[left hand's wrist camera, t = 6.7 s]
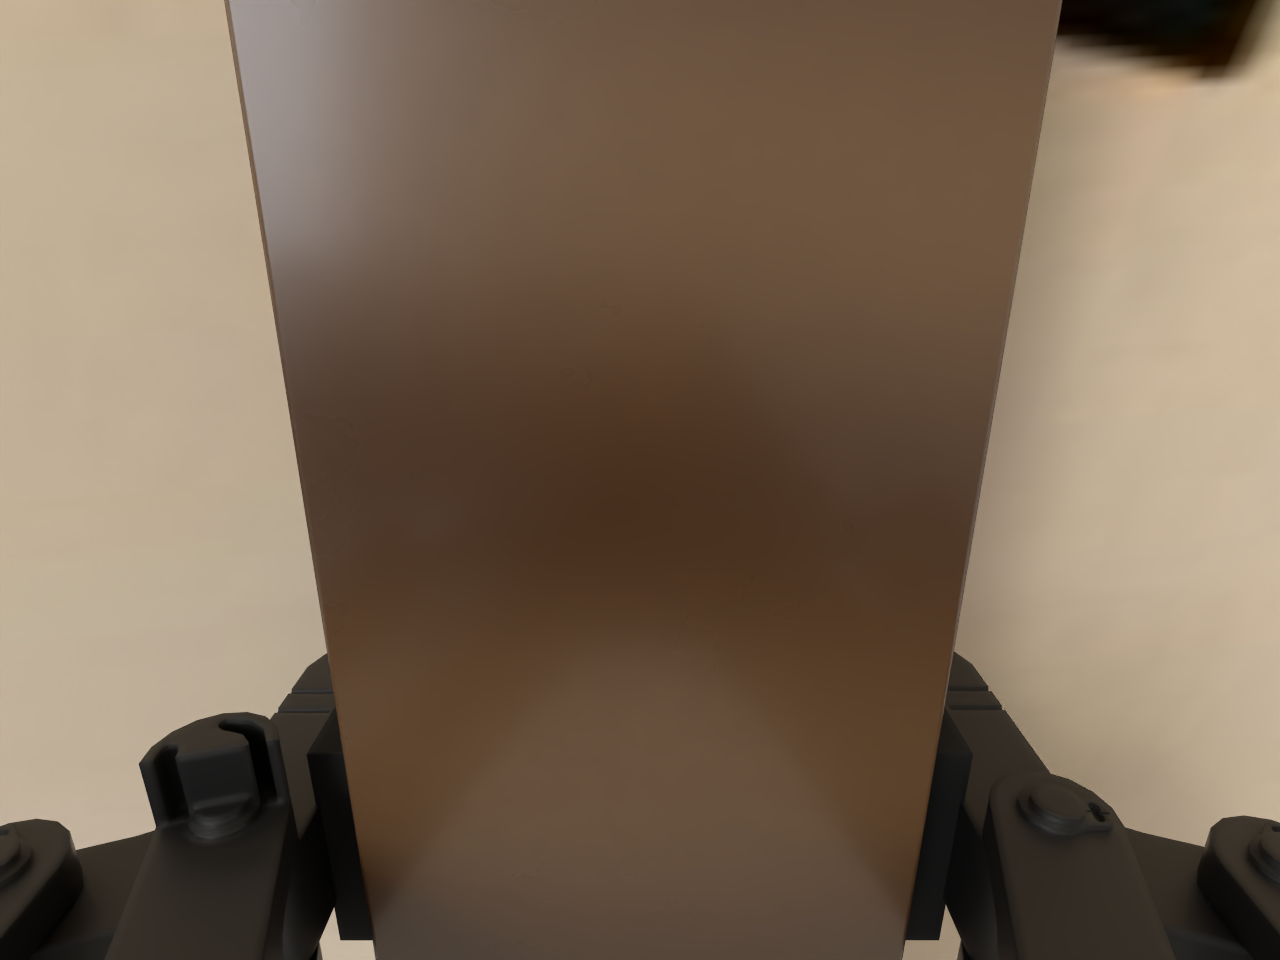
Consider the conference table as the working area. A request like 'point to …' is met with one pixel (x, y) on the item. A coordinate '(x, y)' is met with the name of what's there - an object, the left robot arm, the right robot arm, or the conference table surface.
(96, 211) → the conference table surface
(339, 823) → the left robot arm
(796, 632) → the bar
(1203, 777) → the conference table surface
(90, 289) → the conference table surface
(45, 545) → the conference table surface
